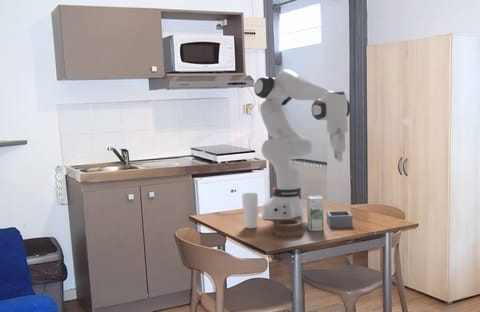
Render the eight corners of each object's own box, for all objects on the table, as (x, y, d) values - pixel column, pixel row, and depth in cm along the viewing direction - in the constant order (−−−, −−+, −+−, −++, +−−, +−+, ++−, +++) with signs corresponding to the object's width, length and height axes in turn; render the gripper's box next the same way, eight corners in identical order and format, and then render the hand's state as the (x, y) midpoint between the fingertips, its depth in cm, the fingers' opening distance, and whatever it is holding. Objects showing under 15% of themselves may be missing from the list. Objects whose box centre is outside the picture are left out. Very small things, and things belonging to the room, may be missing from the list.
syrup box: (320, 227, 219) (319, 194, 218) (323, 231, 213) (323, 197, 212) (307, 228, 219) (306, 195, 217) (310, 232, 213) (309, 198, 211)
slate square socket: (329, 227, 219) (329, 216, 218) (327, 222, 228) (326, 211, 228) (352, 227, 218) (352, 215, 218) (349, 221, 228) (348, 210, 227)
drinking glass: (247, 230, 221) (245, 196, 220) (241, 226, 227) (239, 193, 226) (261, 227, 224) (259, 194, 222) (254, 224, 230) (253, 192, 228)
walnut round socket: (274, 238, 206) (273, 226, 206) (274, 230, 218) (273, 219, 217) (303, 237, 206) (303, 225, 205) (301, 229, 217) (301, 218, 217)
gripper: (348, 129, 208) (349, 162, 210) (341, 126, 228) (342, 156, 230) (333, 129, 208) (333, 163, 210) (327, 127, 229) (328, 157, 230)
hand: (338, 159), depth 220 cm, fingers open, 8 cm apart
